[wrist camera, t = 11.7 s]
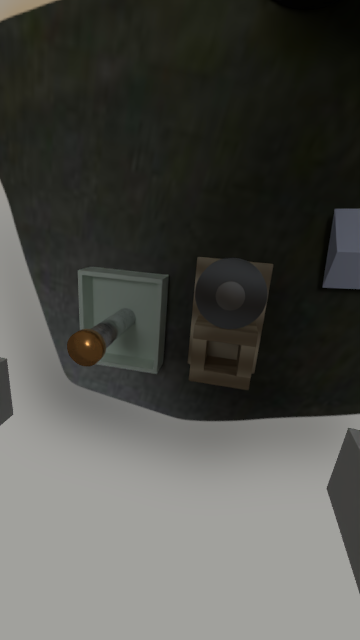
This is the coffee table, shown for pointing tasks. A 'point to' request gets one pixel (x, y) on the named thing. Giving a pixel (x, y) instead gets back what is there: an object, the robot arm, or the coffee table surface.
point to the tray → (137, 295)
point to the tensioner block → (227, 320)
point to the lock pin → (99, 337)
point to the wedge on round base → (344, 251)
